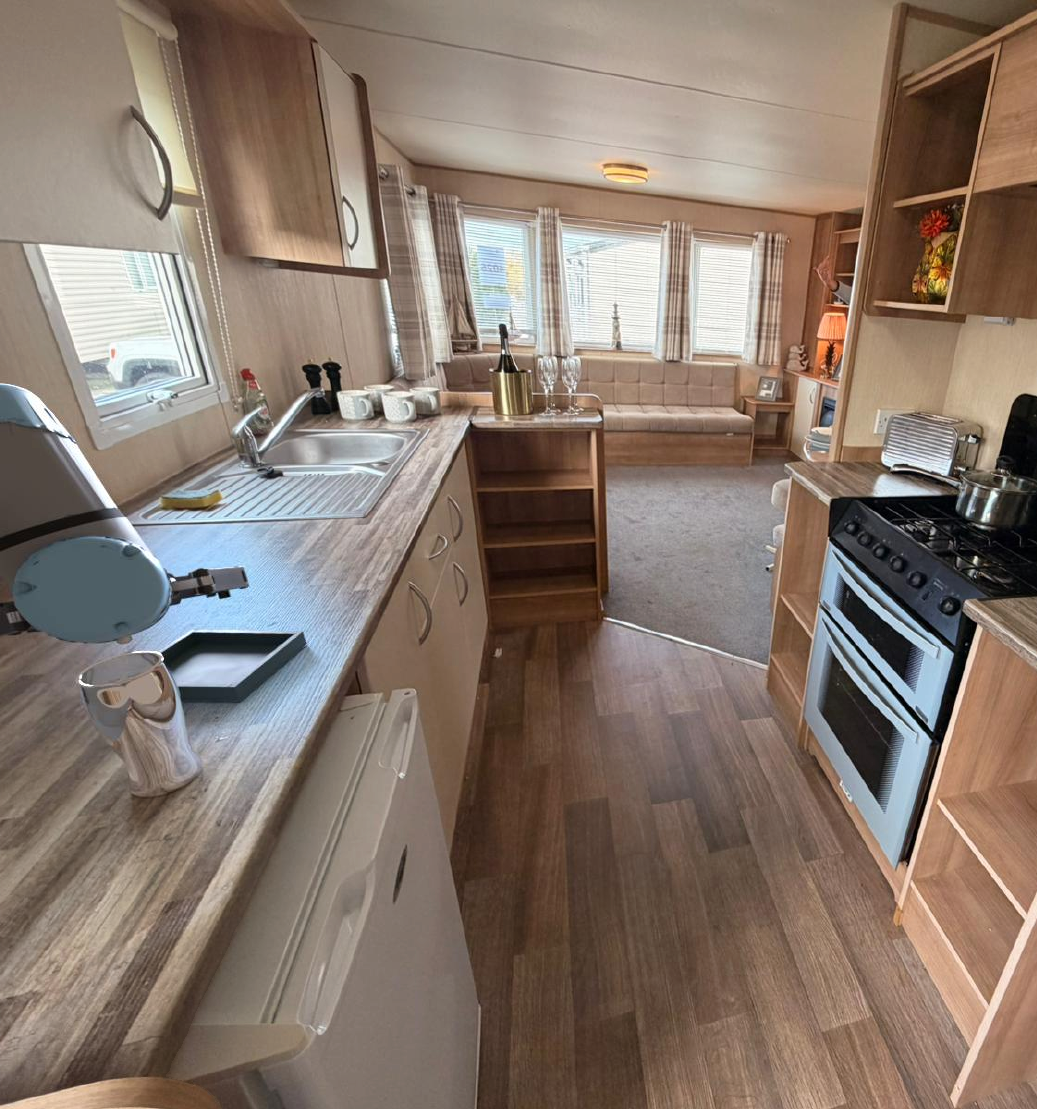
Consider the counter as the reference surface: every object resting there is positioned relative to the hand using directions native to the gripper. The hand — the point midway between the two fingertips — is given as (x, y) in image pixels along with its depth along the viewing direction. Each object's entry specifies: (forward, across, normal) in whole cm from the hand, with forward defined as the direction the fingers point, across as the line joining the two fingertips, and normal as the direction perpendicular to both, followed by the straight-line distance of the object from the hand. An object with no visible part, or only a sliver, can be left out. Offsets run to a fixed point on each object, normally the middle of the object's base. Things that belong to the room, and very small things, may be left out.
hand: (129, 601), depth 67 cm
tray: (+19, +6, -12) cm, 23 cm away
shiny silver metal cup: (-2, -1, -21) cm, 21 cm away
